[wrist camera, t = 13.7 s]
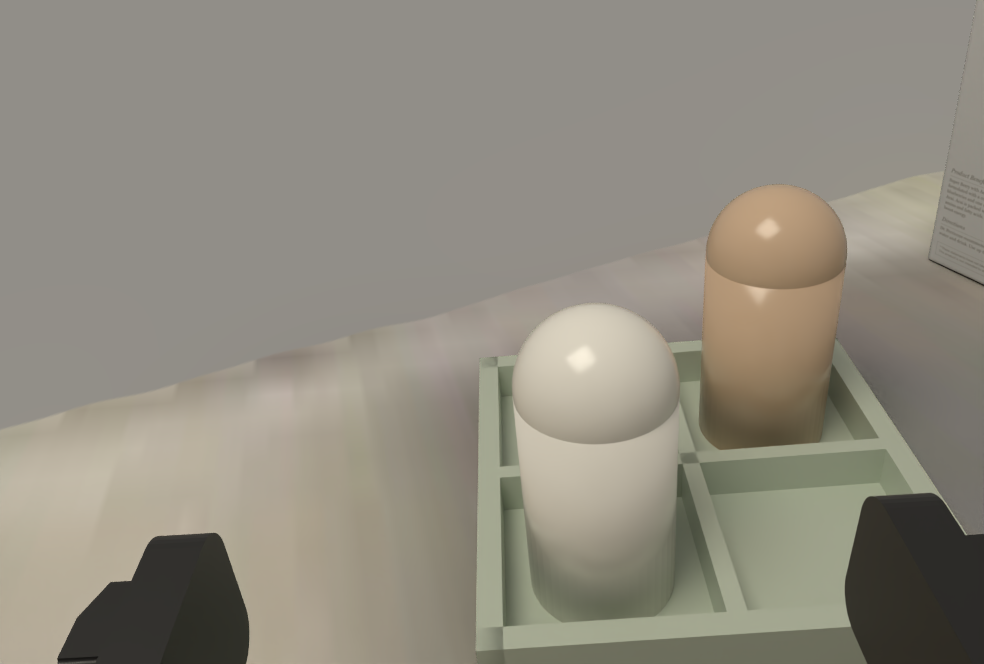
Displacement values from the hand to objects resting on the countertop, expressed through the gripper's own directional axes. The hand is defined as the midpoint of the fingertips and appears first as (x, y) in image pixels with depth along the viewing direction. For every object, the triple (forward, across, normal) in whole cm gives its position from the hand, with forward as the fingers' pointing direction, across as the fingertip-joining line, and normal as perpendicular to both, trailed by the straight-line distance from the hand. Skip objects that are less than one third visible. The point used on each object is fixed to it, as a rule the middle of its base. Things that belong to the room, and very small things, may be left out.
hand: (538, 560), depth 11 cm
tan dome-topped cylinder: (+19, -10, +14) cm, 26 cm away
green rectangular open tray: (+16, -6, +15) cm, 22 cm away
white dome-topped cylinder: (+12, -2, +14) cm, 19 cm away
